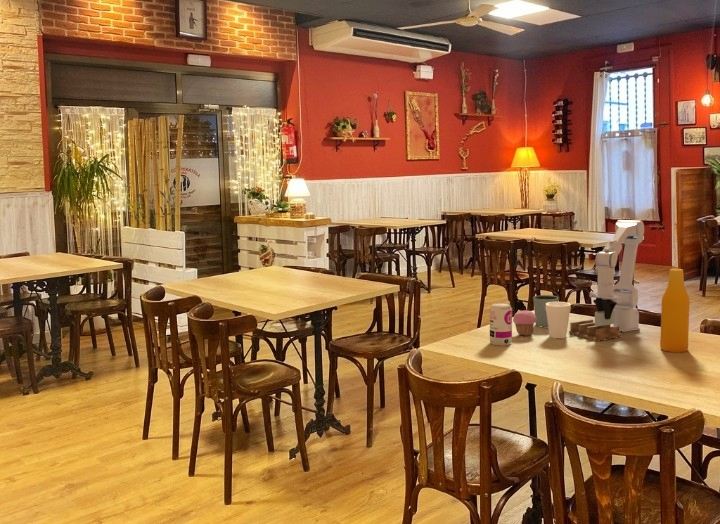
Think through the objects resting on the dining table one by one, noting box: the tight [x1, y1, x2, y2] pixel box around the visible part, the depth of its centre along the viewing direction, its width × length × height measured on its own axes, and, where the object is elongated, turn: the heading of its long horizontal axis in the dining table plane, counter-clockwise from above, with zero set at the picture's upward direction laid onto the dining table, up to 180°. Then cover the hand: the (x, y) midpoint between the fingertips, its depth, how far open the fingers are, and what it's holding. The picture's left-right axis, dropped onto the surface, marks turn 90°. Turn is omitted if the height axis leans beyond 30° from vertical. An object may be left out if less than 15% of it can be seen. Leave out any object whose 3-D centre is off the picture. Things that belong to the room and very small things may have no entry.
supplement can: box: [489, 302, 513, 347], centre depth 273 cm, size 8×8×15 cm
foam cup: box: [546, 301, 572, 339], centre depth 281 cm, size 10×9×13 cm
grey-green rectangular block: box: [594, 309, 615, 326], centre depth 276 cm, size 8×2×5 cm, turn 116°
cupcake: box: [512, 309, 536, 337], centre depth 285 cm, size 9×9×10 cm
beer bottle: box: [659, 268, 691, 353], centre depth 257 cm, size 9×9×29 cm
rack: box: [568, 319, 621, 342], centre depth 282 cm, size 12×15×4 cm
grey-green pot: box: [532, 294, 559, 328], centre depth 301 cm, size 10×10×12 cm
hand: (604, 318), depth 276 cm, fingers closed on grey-green rectangular block, 2 cm apart
